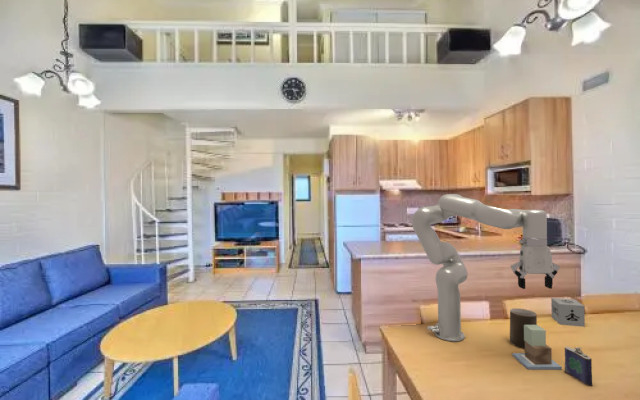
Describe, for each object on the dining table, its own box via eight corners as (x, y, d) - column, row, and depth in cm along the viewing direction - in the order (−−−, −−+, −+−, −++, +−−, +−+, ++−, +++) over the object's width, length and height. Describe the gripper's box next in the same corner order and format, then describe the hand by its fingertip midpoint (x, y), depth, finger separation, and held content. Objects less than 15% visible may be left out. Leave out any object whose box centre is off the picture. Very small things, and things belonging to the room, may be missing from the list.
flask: (562, 371, 114) (562, 341, 114) (570, 370, 115) (569, 341, 115) (587, 386, 105) (587, 354, 105) (595, 385, 106) (595, 353, 105)
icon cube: (551, 317, 164) (551, 297, 164) (574, 318, 161) (574, 299, 161) (559, 324, 154) (559, 304, 154) (584, 326, 151) (584, 305, 151)
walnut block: (535, 364, 117) (534, 348, 117) (524, 356, 123) (524, 340, 123) (551, 364, 117) (551, 348, 117) (540, 356, 123) (540, 340, 123)
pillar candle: (528, 351, 129) (528, 314, 129) (504, 341, 138) (504, 307, 137) (541, 346, 133) (542, 310, 133) (518, 337, 142) (518, 303, 142)
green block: (531, 346, 119) (531, 330, 119) (524, 340, 124) (523, 324, 124) (545, 346, 119) (545, 330, 118) (537, 340, 124) (537, 324, 123)
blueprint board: (527, 369, 116) (527, 366, 116) (512, 355, 126) (512, 352, 126) (561, 369, 115) (561, 366, 115) (543, 355, 125) (543, 353, 125)
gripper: (516, 244, 117) (517, 291, 117) (565, 243, 116) (566, 290, 116) (505, 241, 124) (506, 285, 124) (551, 240, 123) (552, 284, 124)
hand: (535, 287), depth 120 cm, fingers open, 9 cm apart
